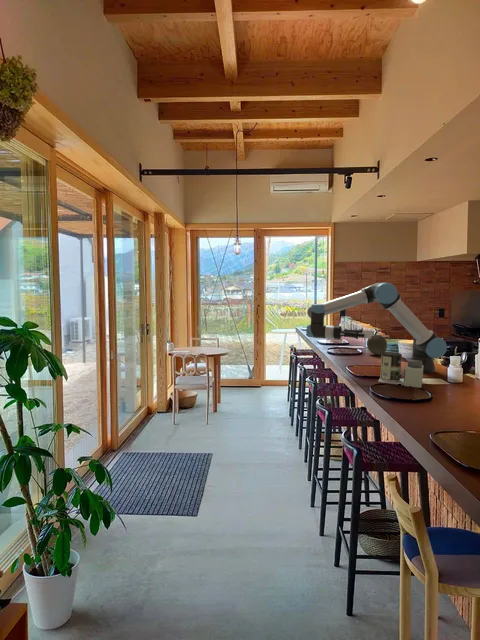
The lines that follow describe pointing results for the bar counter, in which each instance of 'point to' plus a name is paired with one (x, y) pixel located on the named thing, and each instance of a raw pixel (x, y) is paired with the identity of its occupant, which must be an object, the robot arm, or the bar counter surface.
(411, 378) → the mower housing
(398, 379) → the coffee can
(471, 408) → the bar counter surface
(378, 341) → the cantaloupe
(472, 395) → the bar counter surface
